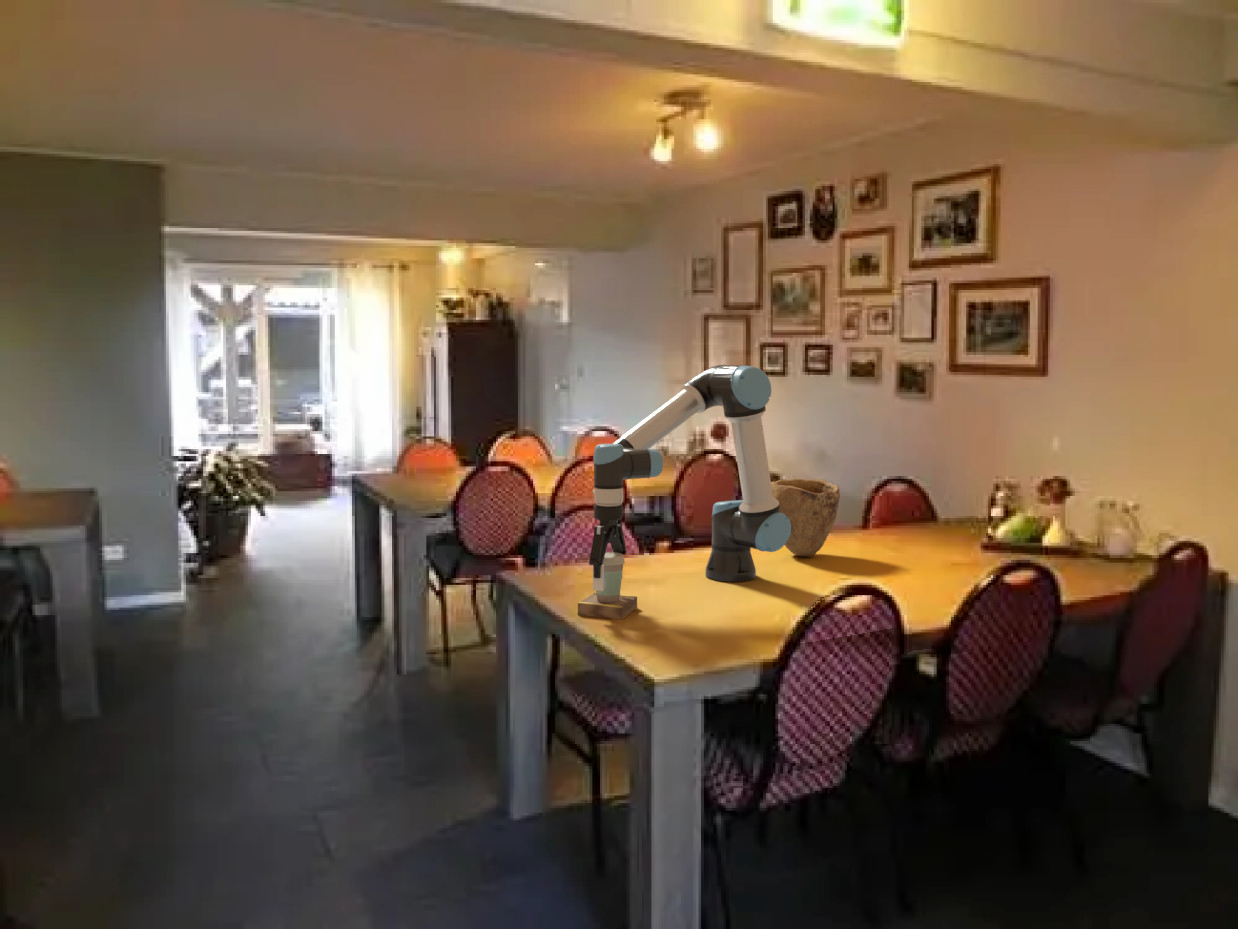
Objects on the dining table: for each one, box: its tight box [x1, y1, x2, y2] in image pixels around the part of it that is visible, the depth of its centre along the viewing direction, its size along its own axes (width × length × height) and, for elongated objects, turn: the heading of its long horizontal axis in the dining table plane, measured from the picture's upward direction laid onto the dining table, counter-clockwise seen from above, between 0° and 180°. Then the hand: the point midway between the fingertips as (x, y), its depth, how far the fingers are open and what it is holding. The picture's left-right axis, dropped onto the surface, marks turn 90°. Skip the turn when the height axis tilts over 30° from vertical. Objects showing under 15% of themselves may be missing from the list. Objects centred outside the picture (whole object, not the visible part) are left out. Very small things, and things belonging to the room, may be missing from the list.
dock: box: [577, 591, 638, 620], centre depth 262 cm, size 12×12×3 cm
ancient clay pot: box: [771, 478, 841, 558], centre depth 331 cm, size 22×22×25 cm
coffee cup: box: [595, 551, 626, 603], centre depth 262 cm, size 8×8×12 cm
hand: (607, 584), depth 262 cm, fingers open, 13 cm apart
